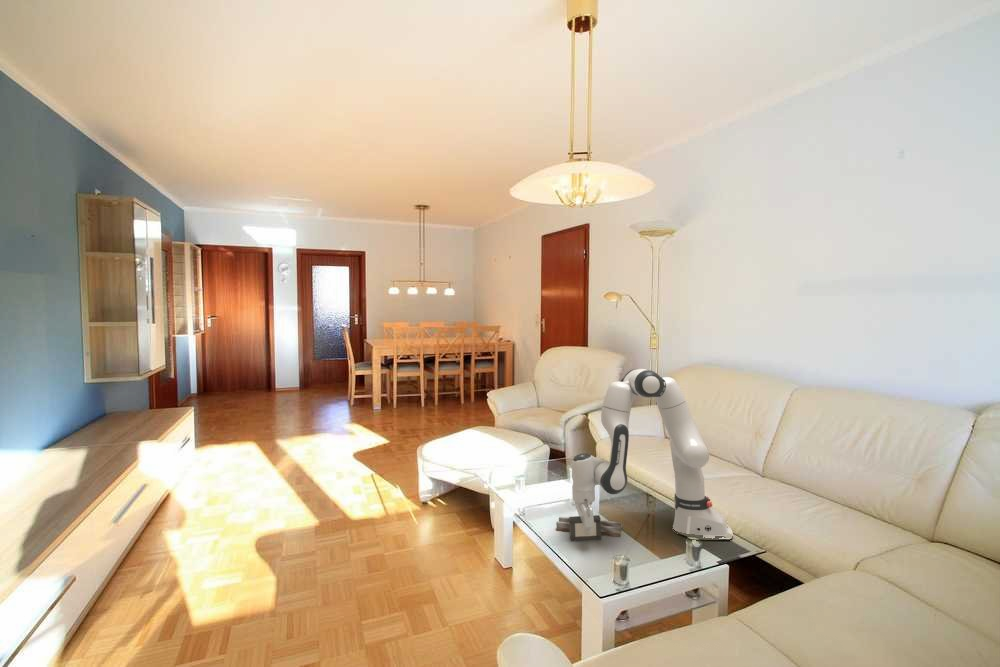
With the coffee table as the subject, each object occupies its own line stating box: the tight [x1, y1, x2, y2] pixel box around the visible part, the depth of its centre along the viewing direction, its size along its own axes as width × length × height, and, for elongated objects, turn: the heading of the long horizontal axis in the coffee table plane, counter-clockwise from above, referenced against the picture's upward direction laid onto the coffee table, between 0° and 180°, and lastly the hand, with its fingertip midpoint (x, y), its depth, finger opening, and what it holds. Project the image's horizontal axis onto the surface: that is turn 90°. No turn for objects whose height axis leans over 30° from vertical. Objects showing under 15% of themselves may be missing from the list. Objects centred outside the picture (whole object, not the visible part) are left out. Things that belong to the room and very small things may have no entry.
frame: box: [568, 514, 602, 542], centre depth 193 cm, size 12×2×9 cm, turn 91°
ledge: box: [555, 516, 623, 538], centre depth 201 cm, size 26×8×3 cm, turn 71°
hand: (584, 529), depth 193 cm, fingers open, 7 cm apart
